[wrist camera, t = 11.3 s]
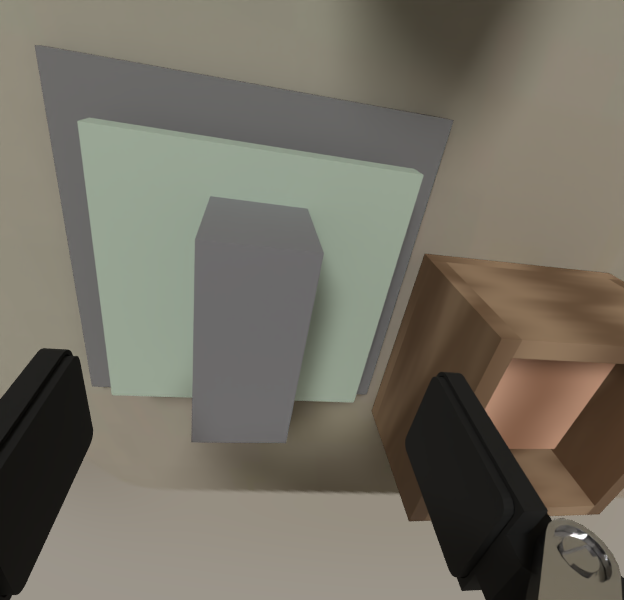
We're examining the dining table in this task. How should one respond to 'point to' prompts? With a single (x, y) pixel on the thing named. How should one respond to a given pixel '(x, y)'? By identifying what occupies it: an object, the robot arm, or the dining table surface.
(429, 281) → the box
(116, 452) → the dining table surface
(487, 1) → the dining table surface
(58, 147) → the mat
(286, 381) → the lid
